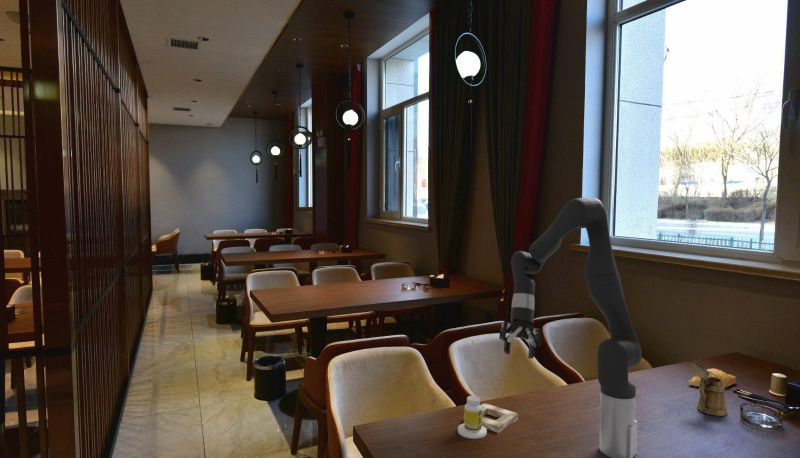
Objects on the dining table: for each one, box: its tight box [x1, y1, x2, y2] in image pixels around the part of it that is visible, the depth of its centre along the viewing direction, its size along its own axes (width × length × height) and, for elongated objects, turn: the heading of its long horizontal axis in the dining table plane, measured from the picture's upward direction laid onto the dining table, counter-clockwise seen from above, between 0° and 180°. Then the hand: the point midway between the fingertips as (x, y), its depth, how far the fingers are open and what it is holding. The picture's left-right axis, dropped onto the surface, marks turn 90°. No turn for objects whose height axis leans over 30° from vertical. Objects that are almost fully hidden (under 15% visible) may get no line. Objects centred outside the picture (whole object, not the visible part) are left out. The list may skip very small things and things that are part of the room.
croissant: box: [688, 367, 738, 388], centre depth 192 cm, size 21×10×8 cm, turn 100°
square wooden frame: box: [480, 402, 519, 434], centre depth 160 cm, size 13×13×2 cm
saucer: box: [457, 422, 488, 440], centre depth 151 cm, size 9×9×1 cm
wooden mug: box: [690, 362, 728, 417], centre depth 167 cm, size 9×14×18 cm, turn 110°
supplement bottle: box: [463, 395, 482, 432], centre depth 151 cm, size 5×5×10 cm
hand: (519, 356), depth 161 cm, fingers open, 8 cm apart
